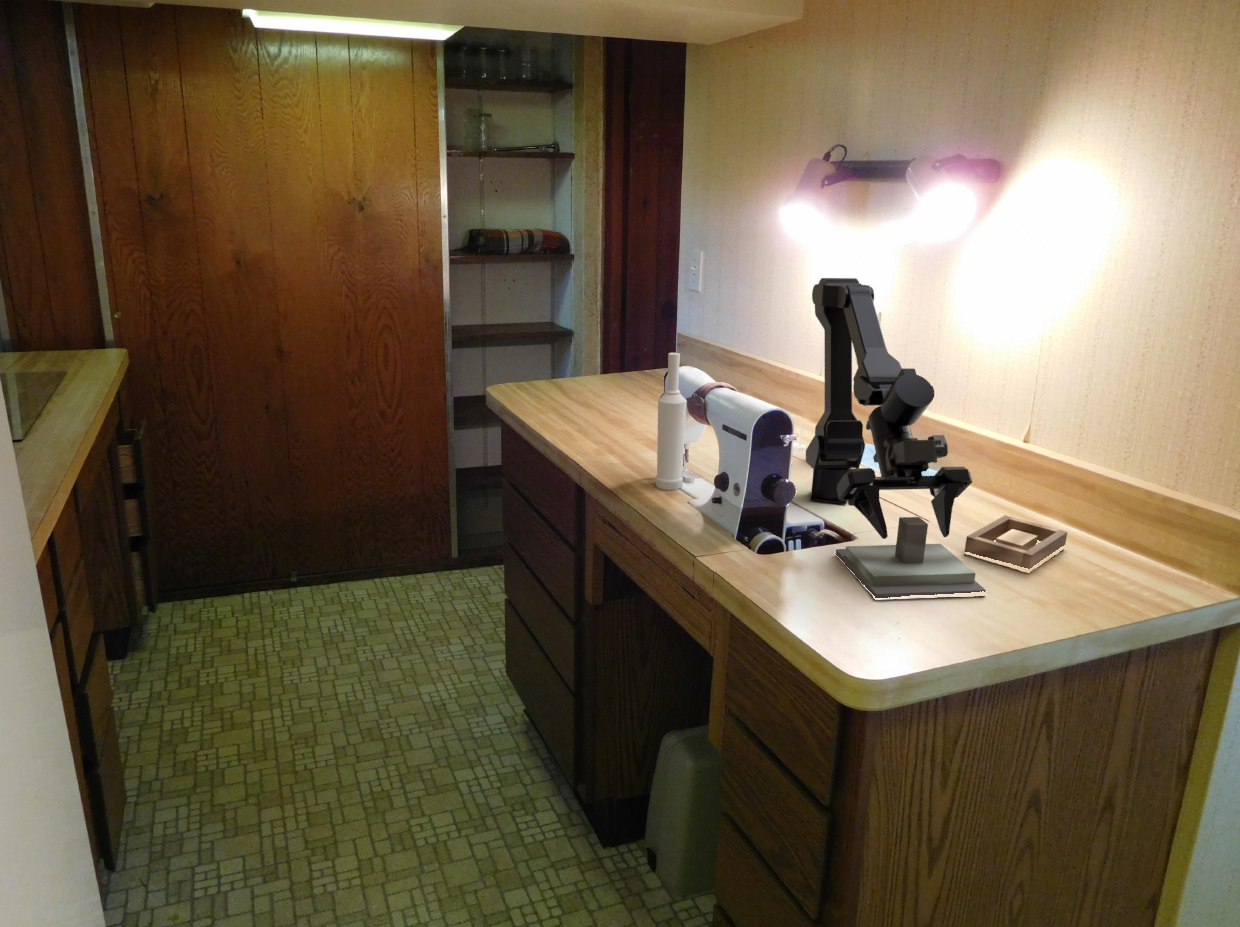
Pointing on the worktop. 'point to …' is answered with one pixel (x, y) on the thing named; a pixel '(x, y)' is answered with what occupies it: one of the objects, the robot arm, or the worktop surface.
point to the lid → (909, 559)
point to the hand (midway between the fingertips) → (915, 536)
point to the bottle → (671, 430)
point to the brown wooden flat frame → (1015, 541)
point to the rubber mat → (909, 589)
